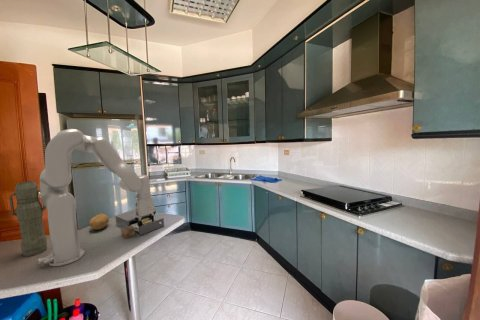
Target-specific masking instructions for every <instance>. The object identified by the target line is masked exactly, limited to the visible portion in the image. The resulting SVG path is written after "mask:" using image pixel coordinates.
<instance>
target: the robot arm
mask: <svg viewBox="0 0 480 320" xmlns="http://www.w3.org/2000/svg"><path fill="white" fill-rule="evenodd" d="M74 150H76V151H80V152H86V153H90V154H91V153H92V154H94V155H95V156H96V157H97V159H98V160H99V161H100V163H101V164H102V165H103V166H104V168H106V169H107V170H108V171H109V172H110V173H113V174H114V175H116V176H117V177H118V178H119V179H120V181H119V182H118V184H119V187H120V188H121V189H122V190H124V191H129V192H133V193H134V192H136V194H135V195H134V199H135V202H134V203H135V207H134V208H135V209H134V210H135V212H134V213H133V214H132V216H131V217H132V218H134V219H135V220H137V225H138V227H140V226H142V221H141V217H142V216H145V215H148V214H150V218H151V219H152V222H154V219H155V218H154V217H155V214H157V213H156V212H157V211H158V207H157V206H155V202H154V197H153V196H152V195H151V183H150V182H151V181H150V176H149V175H147V174H141V175H138V174H137V172H135V171H134V169H133V168H132V167H131V166H129V164H127V163H126V161H124V160H123V159H122V158H121V156H120V155H119V154H118V152H117V151H116V149H115V148H114V147H113V145H112V144H111V142H110V141H109V140H108V139H107V138H106V137H104V136H90V135H87V134H84V133H83V132H82V131H81V130H79V129H76V128H68V129H67V128H66V129H64V130H60V131H59V132H57V133H56V135H54V136H53V138H51V139H50V140H49V142H48V143H47V145H46V148H45V152H44V153H45V154H44V159H45V160H44V169H43V170H42V171H41V173H40V175H39V190H40V192H39V193H40V203H41V204H42V206H43V205H44V206H45V207H46V211H47V222H48V223H47V224H48V230H49V238H50V245H51V251H50V253H49V254H48V255H47V256H44V257H41V258H38V259H37V262H38V265H40V264H42V263H43V264H44V265H45V264H48V265H49V266H51V267H60V266H65V265H69V264H72V263H73V262H76V261H78V260H80V259H81V258H83V256H84V255H85V249H82V248H80V239H79V231H78V222H77V214H76V213H77V212H76V210H77V208H76V206H77V203H76V202H77V201H76V198H75V196H74V195H73V194H72V193H70V192H68V188H67V187H68V186H69V185H70V184H71V182H72V177H73V176H72V175H73V174H72V164H71V162H72V159H71V158H72V153H73V151H74ZM135 215H137V217H135Z"/></svg>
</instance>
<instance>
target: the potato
mask: <svg viewBox="0 0 480 320" xmlns="http://www.w3.org/2000/svg"><path fill="white" fill-rule="evenodd" d="M108 223H109V216H108V215H107V214H105V213H98V214H97V215H95V216H93V217H92V218H91V219H90V220H89V222H88V225H89V227H90V228H91V229H93V230H97V231H99V230H101V229H103V228H105V227H106V226H107V225H108Z"/></svg>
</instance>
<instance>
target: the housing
mask: <svg viewBox="0 0 480 320" xmlns="http://www.w3.org/2000/svg"><path fill="white" fill-rule="evenodd" d="M134 212H135V209H134V210H131V211H127V212H124V213H121V214H117V215H115V224H116V227H119V228H121V229H124V228H127V227H129V226H130V225H131V224H134V223H137V220H135V219H134V218H132V217H131V216H132V214H133V213H134ZM135 217H137V215H135ZM144 218H150V214H148V215H145V216H142V217H141V219H144Z"/></svg>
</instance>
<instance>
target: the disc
mask: <svg viewBox="0 0 480 320" xmlns="http://www.w3.org/2000/svg"><path fill="white" fill-rule="evenodd" d="M141 221H142V225H145V224H148V223H151V222H152V219H151V218H144V219H141Z"/></svg>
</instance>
